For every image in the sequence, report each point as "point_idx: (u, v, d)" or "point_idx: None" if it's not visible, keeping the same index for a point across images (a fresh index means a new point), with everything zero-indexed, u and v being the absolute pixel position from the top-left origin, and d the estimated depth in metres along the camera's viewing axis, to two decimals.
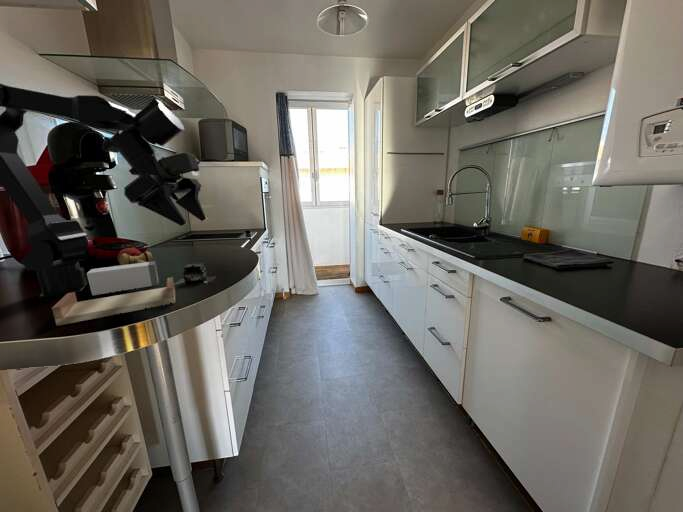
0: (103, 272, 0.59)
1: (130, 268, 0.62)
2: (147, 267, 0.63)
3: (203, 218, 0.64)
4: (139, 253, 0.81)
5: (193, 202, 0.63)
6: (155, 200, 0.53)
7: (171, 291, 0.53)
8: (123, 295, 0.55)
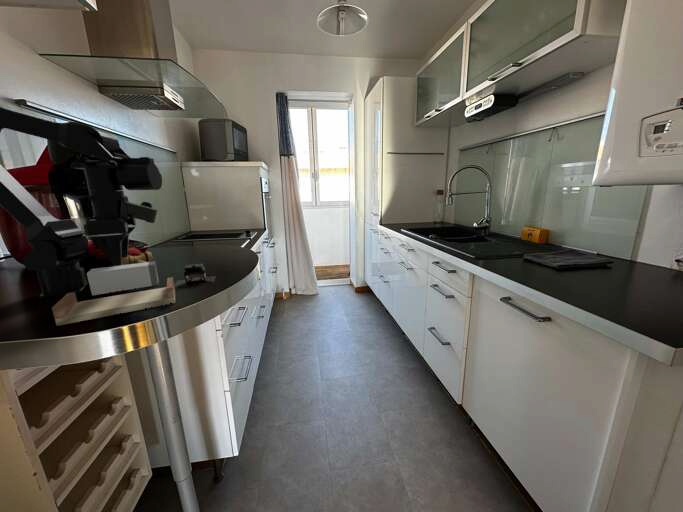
0: (103, 272, 0.59)
1: (130, 268, 0.62)
2: (147, 267, 0.63)
3: (124, 256, 0.66)
4: (139, 253, 0.81)
5: (123, 238, 0.66)
6: (106, 238, 0.56)
7: (171, 291, 0.53)
8: (123, 295, 0.55)
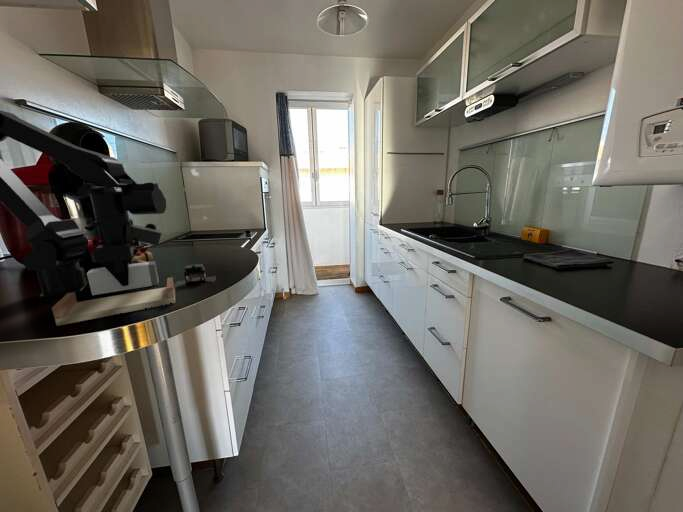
0: (103, 272, 0.59)
1: (130, 268, 0.62)
2: (147, 267, 0.63)
3: None
4: (140, 253, 0.81)
5: None
6: (114, 260, 0.59)
7: (171, 291, 0.53)
8: (123, 295, 0.55)
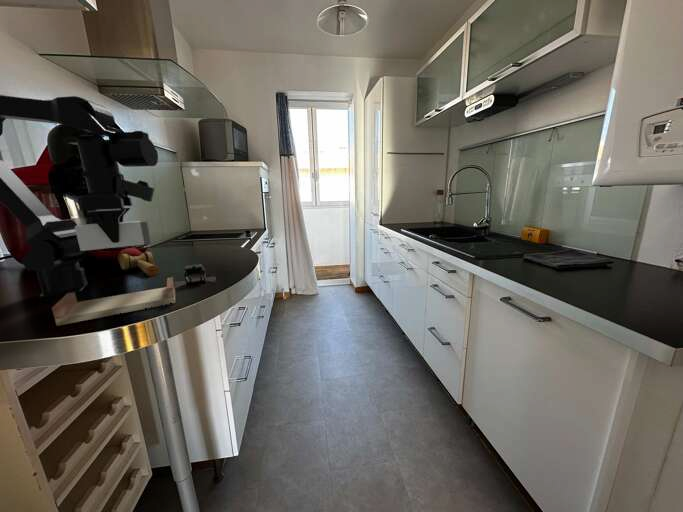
0: (92, 226, 0.56)
1: (121, 224, 0.59)
2: (139, 224, 0.60)
3: None
4: (139, 253, 0.81)
5: None
6: (104, 214, 0.56)
7: (171, 291, 0.53)
8: (123, 295, 0.55)
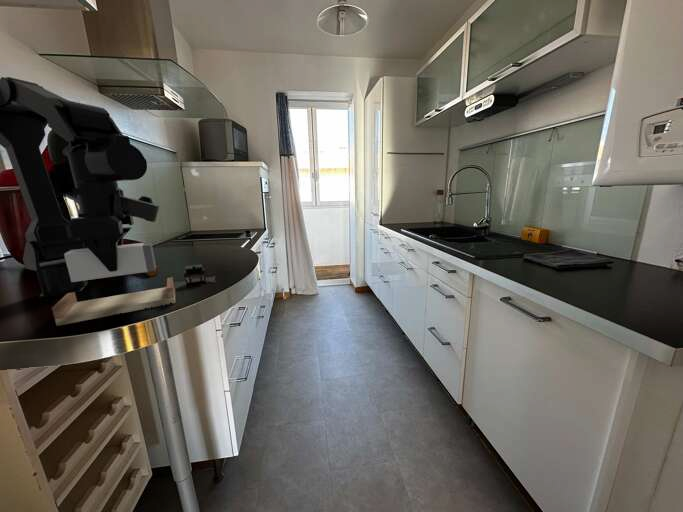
0: (85, 253, 0.47)
1: (120, 249, 0.50)
2: (141, 248, 0.51)
3: None
4: None
5: None
6: (99, 238, 0.47)
7: (171, 291, 0.53)
8: (123, 295, 0.55)
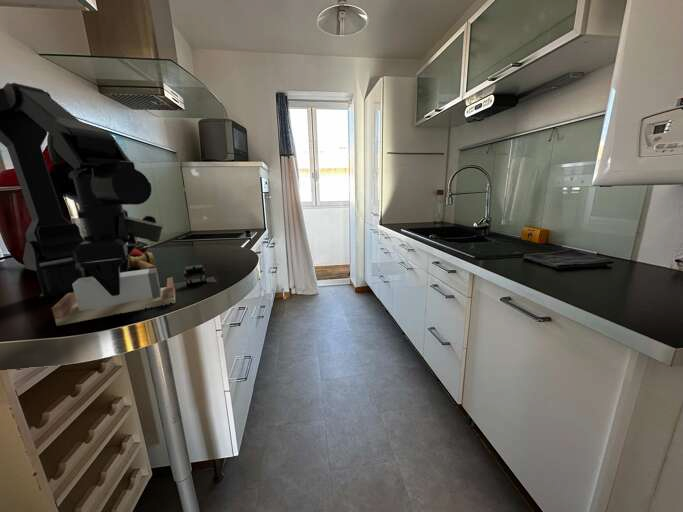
0: (93, 282, 0.48)
1: (126, 277, 0.51)
2: (147, 275, 0.52)
3: None
4: (140, 254, 0.81)
5: None
6: (101, 263, 0.46)
7: (171, 291, 0.53)
8: None
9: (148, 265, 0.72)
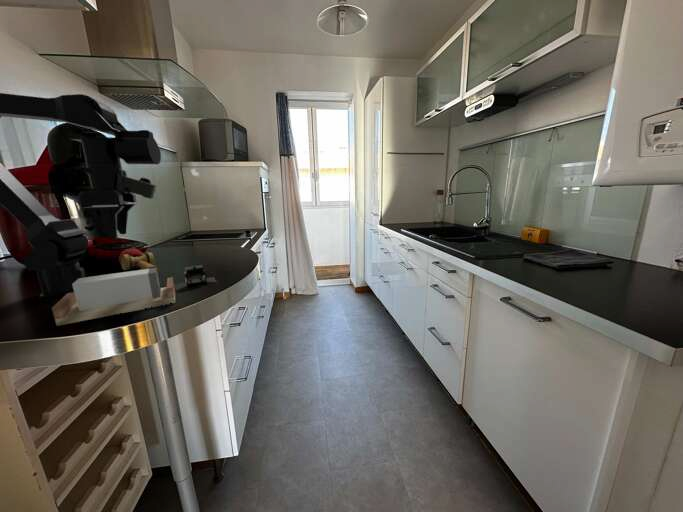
0: (93, 282, 0.48)
1: (126, 277, 0.51)
2: (147, 275, 0.52)
3: (123, 233, 0.66)
4: (141, 254, 0.80)
5: (122, 215, 0.65)
6: (101, 210, 0.55)
7: (171, 291, 0.53)
8: None
9: (148, 265, 0.72)
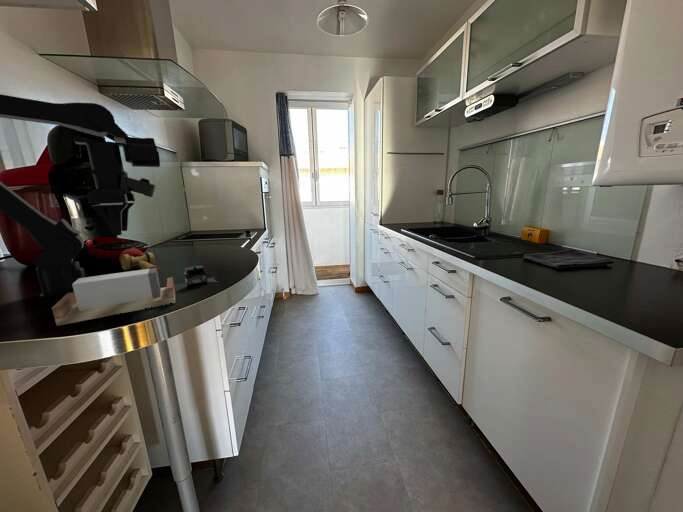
0: (93, 282, 0.48)
1: (126, 277, 0.51)
2: (147, 275, 0.52)
3: (124, 229, 0.71)
4: (141, 254, 0.80)
5: (123, 213, 0.70)
6: (107, 208, 0.60)
7: (171, 291, 0.53)
8: None
9: (149, 265, 0.72)
